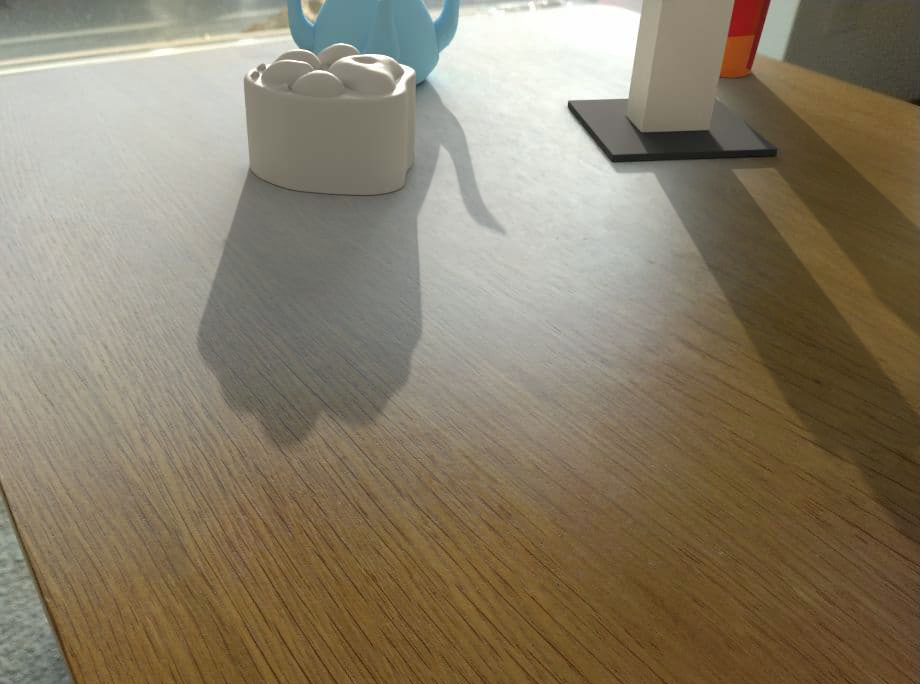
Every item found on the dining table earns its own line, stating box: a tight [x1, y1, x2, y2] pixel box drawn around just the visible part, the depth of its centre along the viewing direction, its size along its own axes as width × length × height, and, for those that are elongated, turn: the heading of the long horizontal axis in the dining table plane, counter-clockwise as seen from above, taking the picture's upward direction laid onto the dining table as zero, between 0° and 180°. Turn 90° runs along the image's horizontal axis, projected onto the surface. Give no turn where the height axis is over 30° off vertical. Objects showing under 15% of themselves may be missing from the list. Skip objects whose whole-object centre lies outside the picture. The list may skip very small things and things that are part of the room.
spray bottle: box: [626, 0, 735, 132], centre depth 81 cm, size 4×6×17 cm
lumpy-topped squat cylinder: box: [243, 44, 417, 196], centre depth 76 cm, size 10×13×9 cm
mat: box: [567, 97, 779, 163], centre depth 86 cm, size 14×14×1 cm
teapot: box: [286, 0, 461, 86], centre depth 96 cm, size 15×15×10 cm
